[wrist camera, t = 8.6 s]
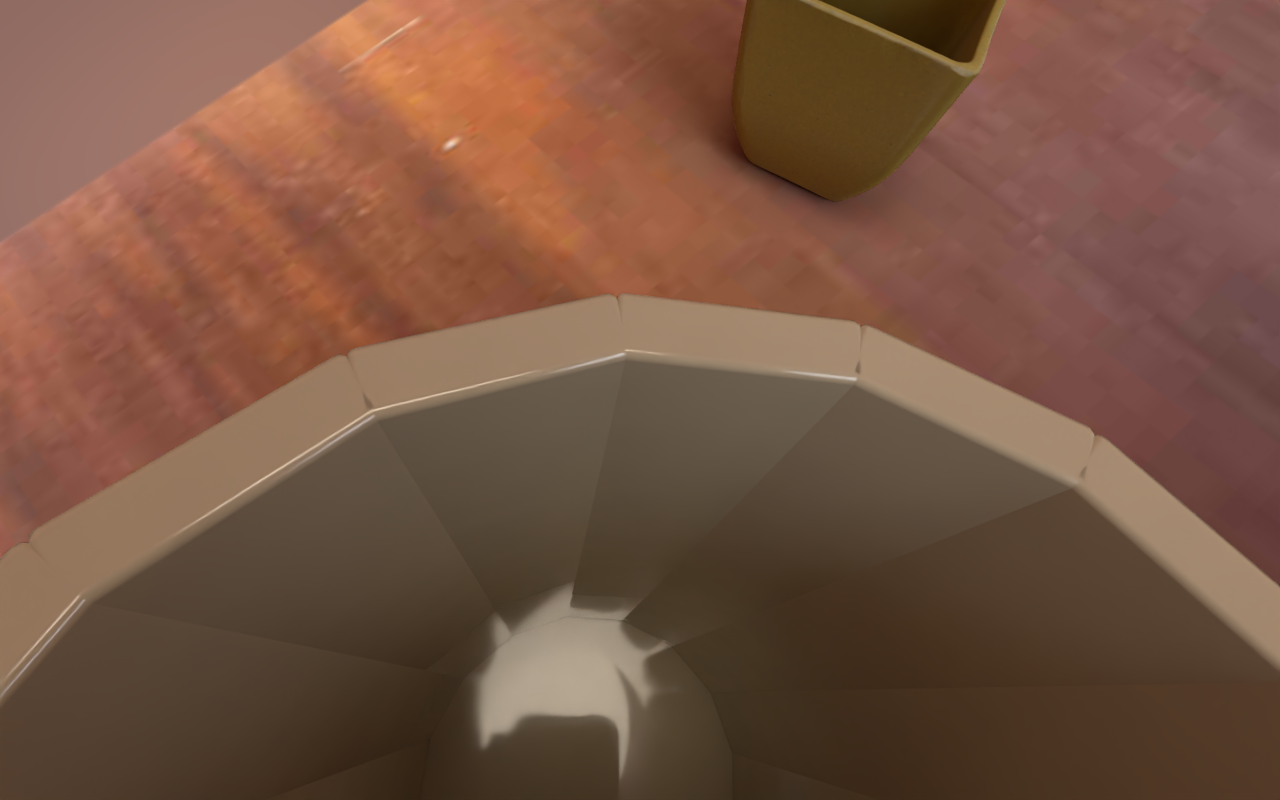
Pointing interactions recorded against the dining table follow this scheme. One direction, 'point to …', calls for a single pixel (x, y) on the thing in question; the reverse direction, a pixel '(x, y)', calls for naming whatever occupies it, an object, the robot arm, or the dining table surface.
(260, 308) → the dining table surface
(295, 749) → the tumbler
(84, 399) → the dining table surface
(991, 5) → the flower pot
